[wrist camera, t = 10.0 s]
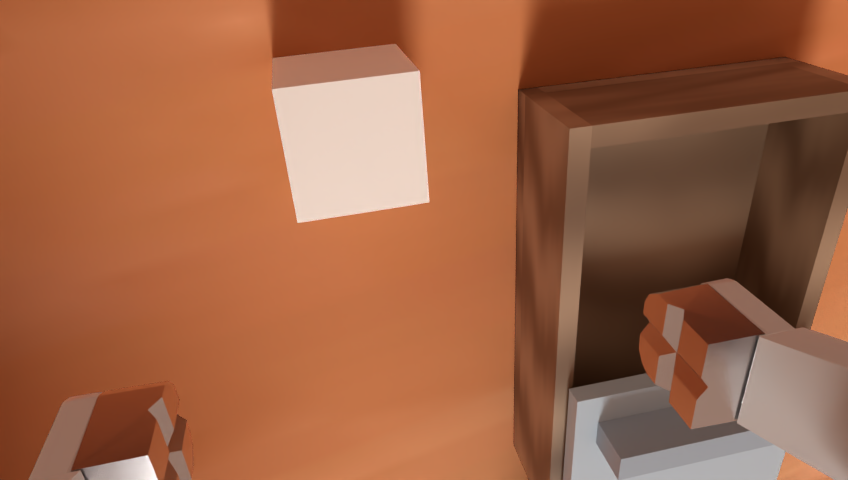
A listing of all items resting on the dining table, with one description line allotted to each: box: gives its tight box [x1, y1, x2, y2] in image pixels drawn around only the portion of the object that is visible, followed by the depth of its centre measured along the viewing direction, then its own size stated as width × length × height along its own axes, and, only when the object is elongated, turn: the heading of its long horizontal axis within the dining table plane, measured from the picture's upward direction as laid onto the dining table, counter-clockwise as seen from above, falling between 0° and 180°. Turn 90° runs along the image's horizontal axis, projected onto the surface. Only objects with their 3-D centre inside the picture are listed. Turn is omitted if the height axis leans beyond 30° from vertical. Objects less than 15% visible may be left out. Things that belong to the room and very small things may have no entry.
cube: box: [272, 44, 429, 223], centre depth 22 cm, size 4×4×4 cm
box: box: [514, 57, 848, 480], centre depth 28 cm, size 20×12×5 cm, turn 4°
